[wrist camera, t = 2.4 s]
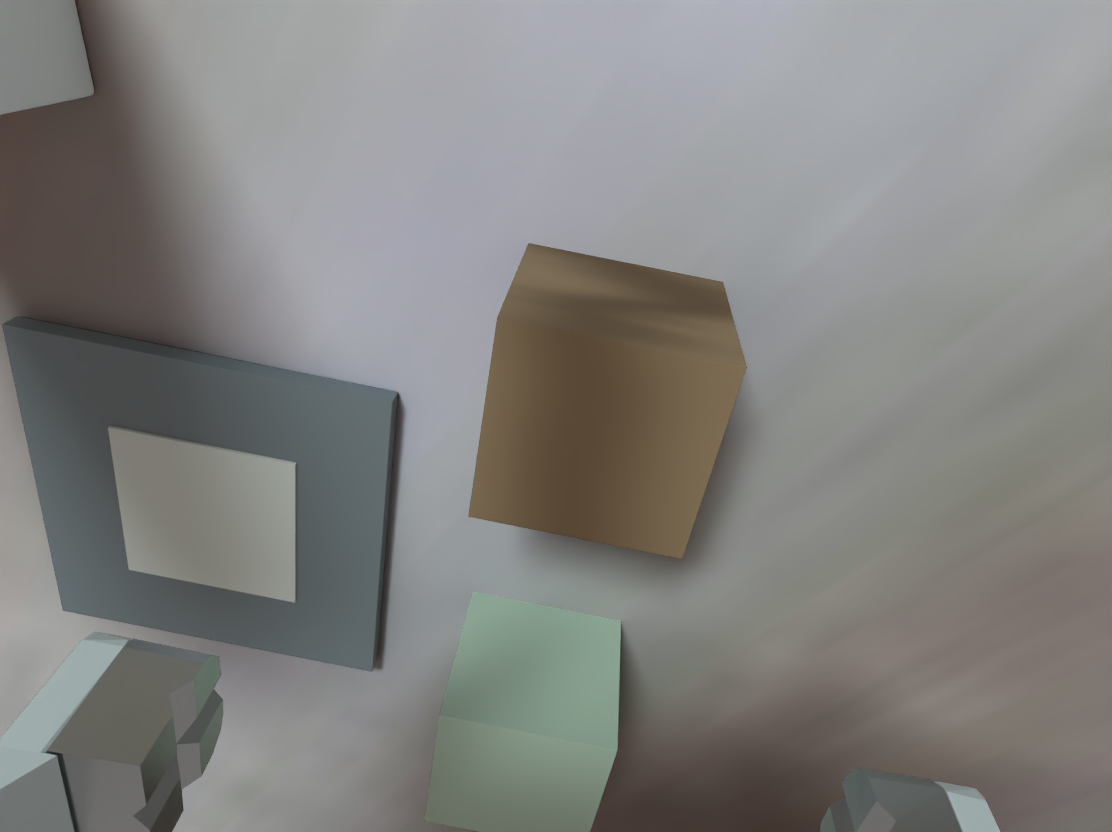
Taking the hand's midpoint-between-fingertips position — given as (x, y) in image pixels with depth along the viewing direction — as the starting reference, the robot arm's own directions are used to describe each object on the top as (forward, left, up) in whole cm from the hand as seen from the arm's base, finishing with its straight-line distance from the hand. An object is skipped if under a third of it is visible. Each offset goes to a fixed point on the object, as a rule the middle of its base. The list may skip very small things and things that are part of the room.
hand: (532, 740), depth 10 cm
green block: (-1, +12, -12) cm, 17 cm away
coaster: (+10, +8, -12) cm, 18 cm away
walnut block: (-1, 0, -12) cm, 12 cm away
